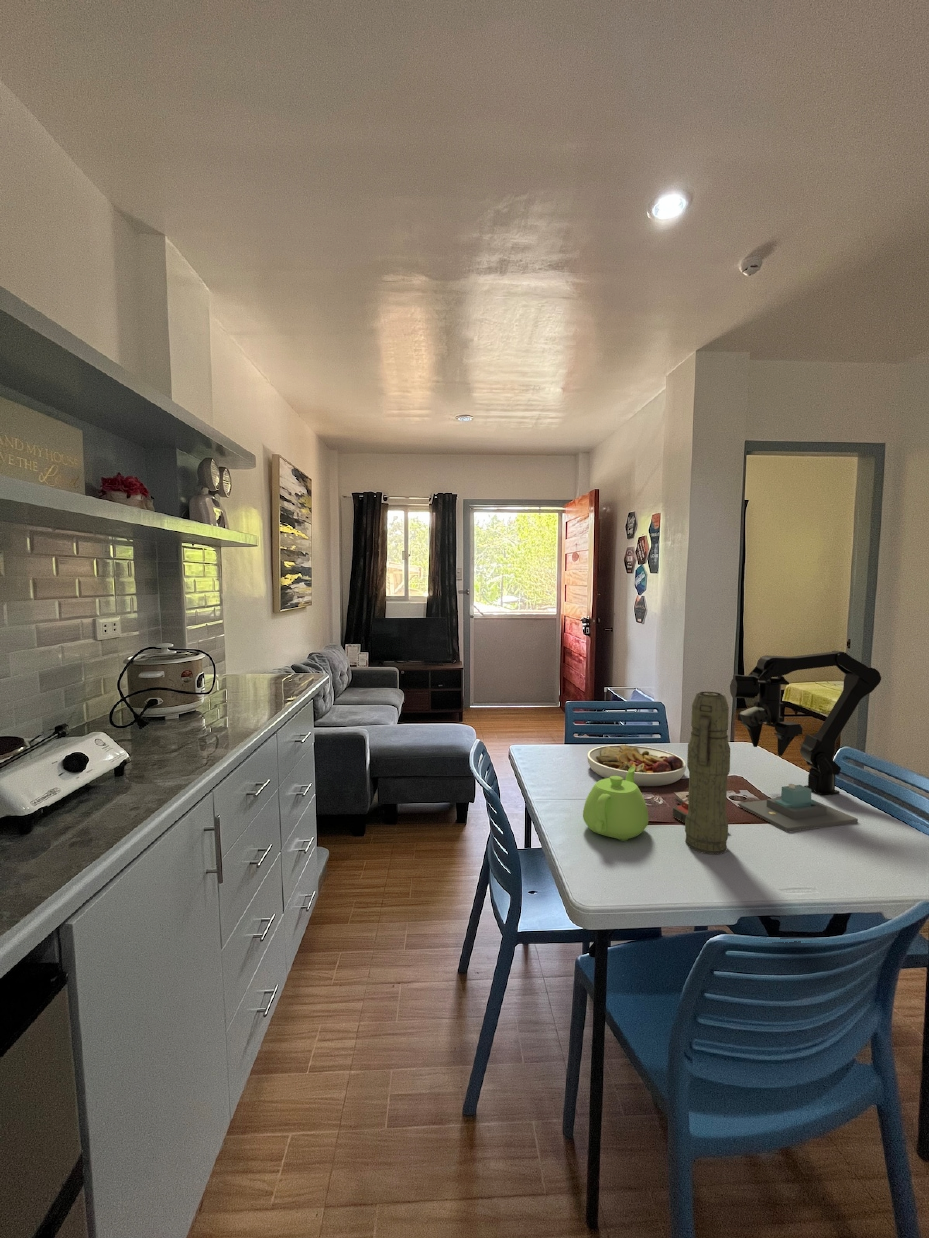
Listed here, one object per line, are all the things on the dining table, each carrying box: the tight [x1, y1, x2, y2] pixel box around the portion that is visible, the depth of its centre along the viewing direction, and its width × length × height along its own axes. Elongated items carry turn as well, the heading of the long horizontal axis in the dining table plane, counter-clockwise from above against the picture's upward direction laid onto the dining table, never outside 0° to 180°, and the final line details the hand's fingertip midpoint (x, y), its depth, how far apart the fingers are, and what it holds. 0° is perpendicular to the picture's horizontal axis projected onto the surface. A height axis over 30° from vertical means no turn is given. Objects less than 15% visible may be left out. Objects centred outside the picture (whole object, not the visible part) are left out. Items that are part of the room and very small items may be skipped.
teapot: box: [582, 767, 650, 842], centre depth 133 cm, size 22×15×13 cm
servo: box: [775, 783, 818, 809], centre depth 143 cm, size 10×4×7 cm, turn 106°
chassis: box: [737, 797, 859, 833], centre depth 143 cm, size 22×16×3 cm
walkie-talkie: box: [672, 796, 688, 824], centre depth 140 cm, size 9×4×20 cm
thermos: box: [684, 691, 731, 855], centre depth 124 cm, size 9×12×35 cm
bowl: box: [586, 744, 687, 787], centre depth 176 cm, size 30×30×8 cm
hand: (767, 751), depth 162 cm, fingers open, 9 cm apart
